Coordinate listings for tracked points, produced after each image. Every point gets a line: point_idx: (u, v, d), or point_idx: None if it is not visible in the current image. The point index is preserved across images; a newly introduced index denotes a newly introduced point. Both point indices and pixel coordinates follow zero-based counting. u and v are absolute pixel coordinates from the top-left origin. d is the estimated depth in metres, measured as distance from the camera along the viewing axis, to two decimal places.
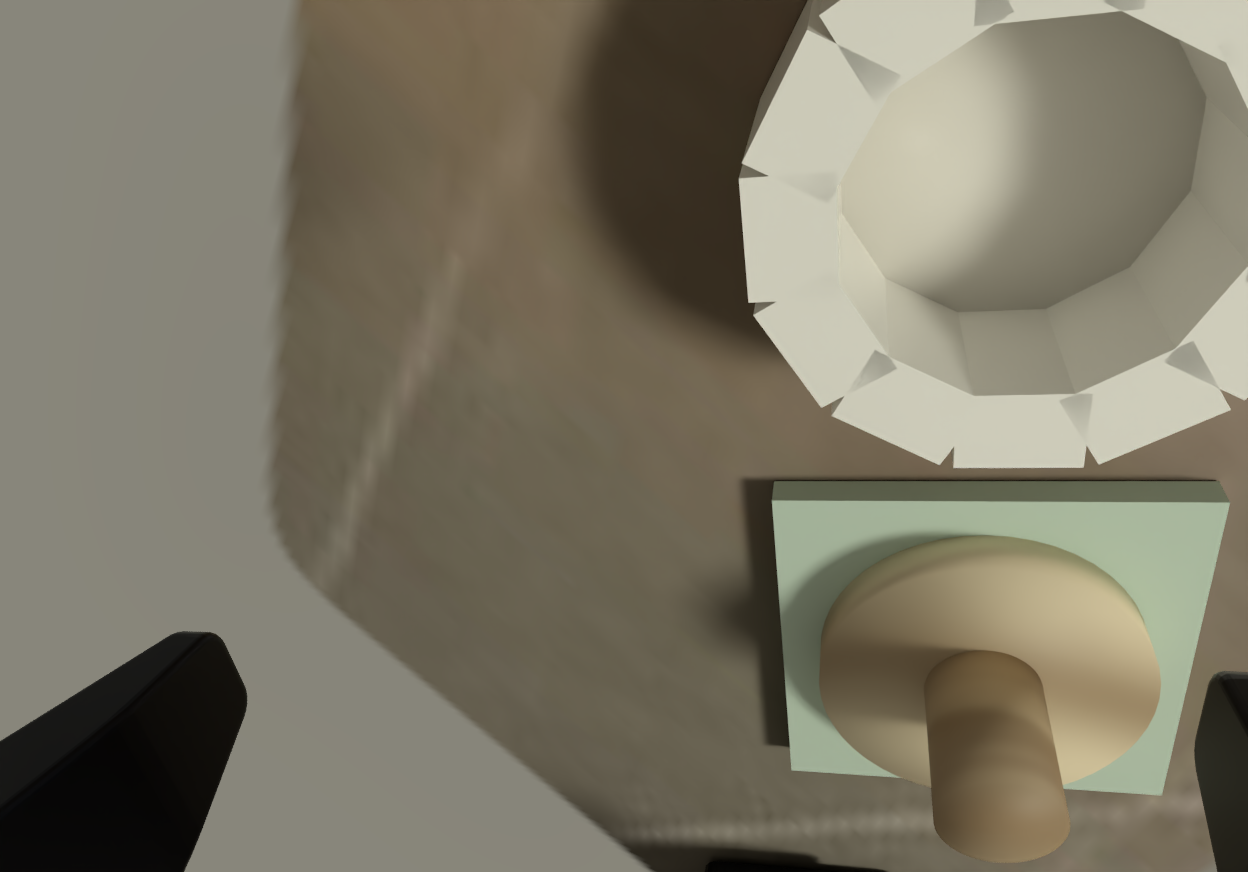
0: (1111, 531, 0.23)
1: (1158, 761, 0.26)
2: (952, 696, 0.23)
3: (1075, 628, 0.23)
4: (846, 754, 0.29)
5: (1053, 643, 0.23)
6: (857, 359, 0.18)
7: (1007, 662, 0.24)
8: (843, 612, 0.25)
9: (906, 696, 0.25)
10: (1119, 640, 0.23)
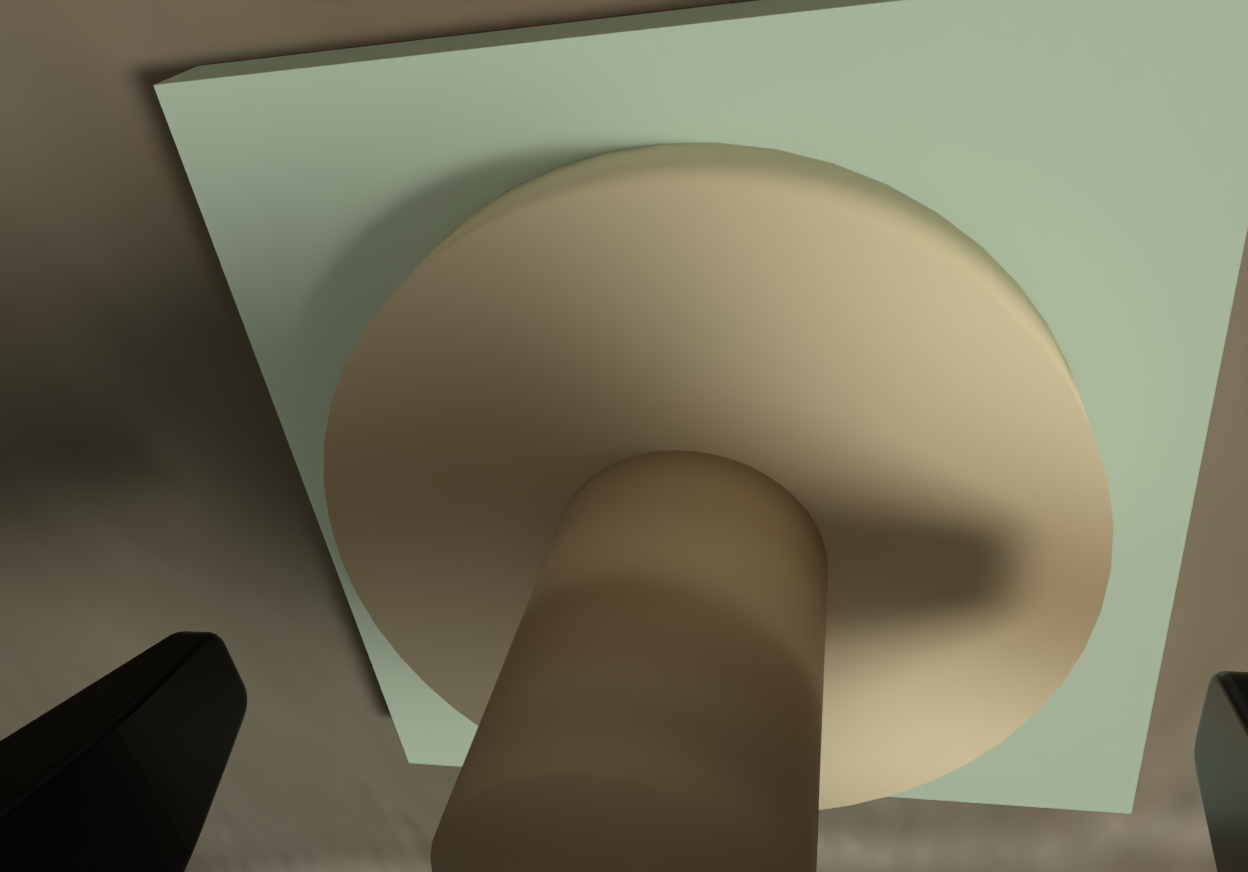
0: (972, 98, 0.08)
1: (1121, 739, 0.12)
2: (564, 556, 0.09)
3: (881, 369, 0.09)
4: None
5: (834, 420, 0.09)
6: None
7: (719, 474, 0.09)
8: (348, 371, 0.10)
9: (528, 583, 0.11)
10: (998, 398, 0.09)
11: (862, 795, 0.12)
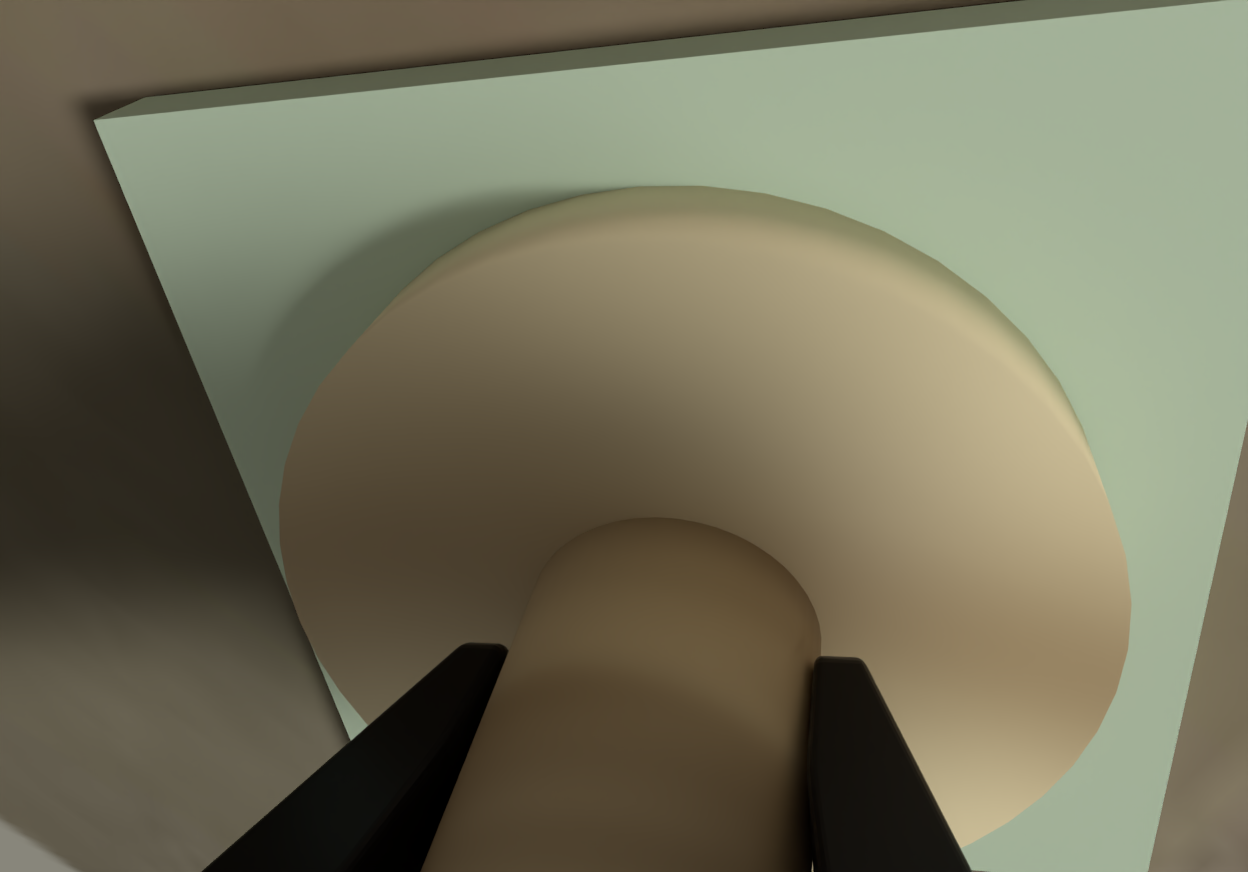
0: (978, 141, 0.08)
1: (1135, 809, 0.11)
2: (533, 637, 0.08)
3: (878, 436, 0.08)
4: None
5: (828, 488, 0.08)
6: None
7: (703, 545, 0.08)
8: (306, 428, 0.09)
9: None
10: (1007, 468, 0.08)
11: None
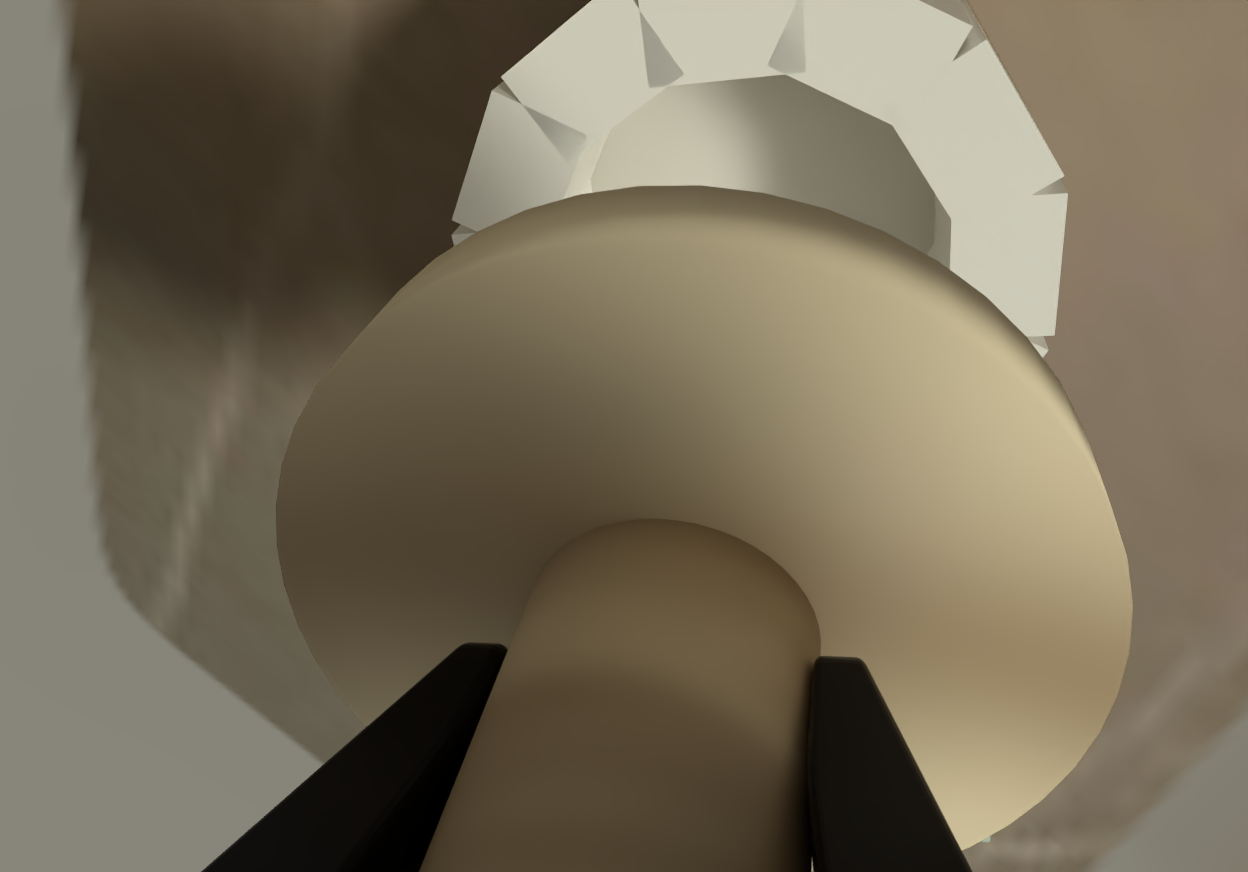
0: None
1: None
2: (531, 639, 0.08)
3: (878, 437, 0.08)
4: None
5: (827, 490, 0.08)
6: None
7: (702, 547, 0.08)
8: (302, 428, 0.09)
9: None
10: (1008, 469, 0.08)
11: None
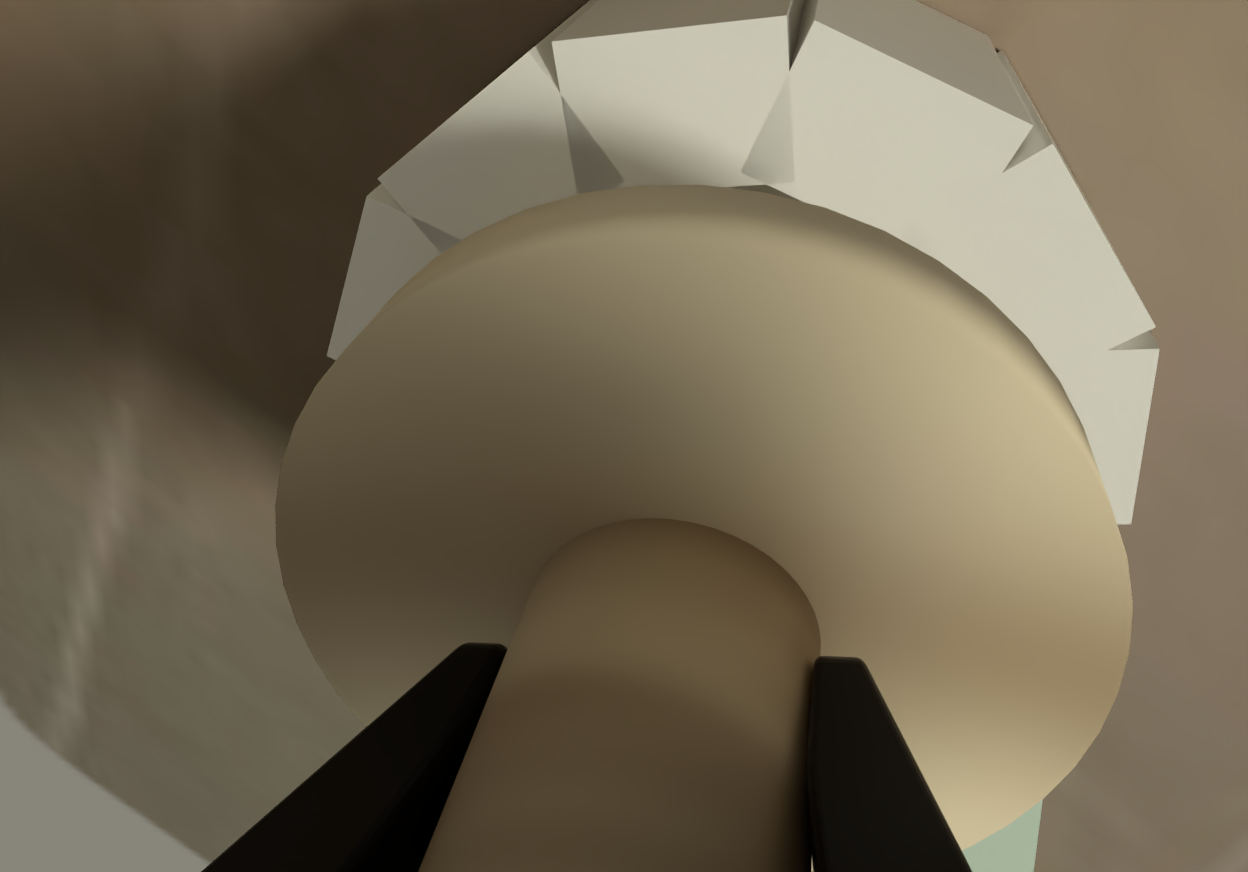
0: None
1: None
2: (531, 639, 0.08)
3: (878, 437, 0.08)
4: None
5: (826, 490, 0.08)
6: None
7: (701, 546, 0.08)
8: (302, 428, 0.09)
9: None
10: (1008, 469, 0.08)
11: None
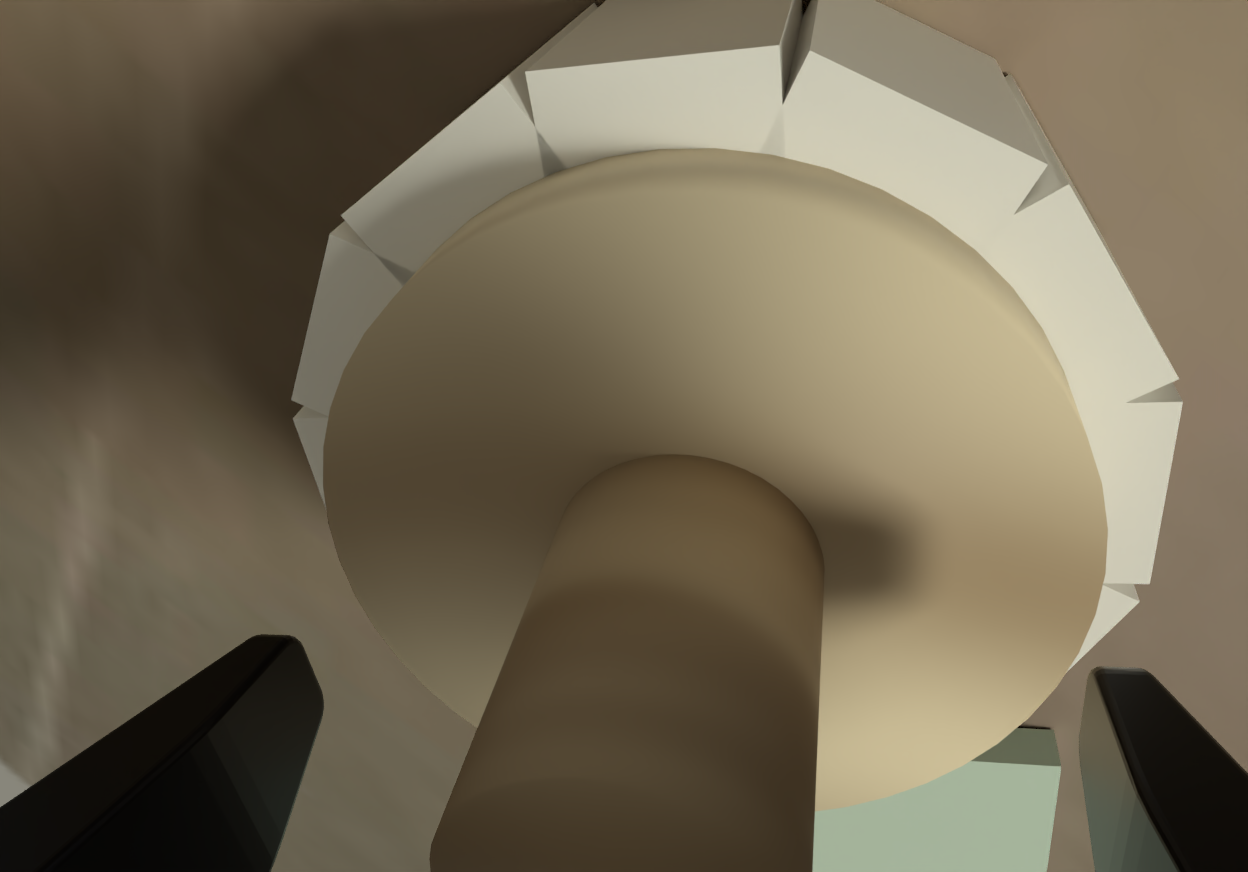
0: (919, 789, 0.18)
1: None
2: (562, 559, 0.09)
3: (877, 374, 0.09)
4: None
5: (829, 425, 0.09)
6: None
7: (716, 478, 0.09)
8: (349, 375, 0.10)
9: (525, 586, 0.11)
10: (993, 402, 0.09)
11: (859, 797, 0.12)
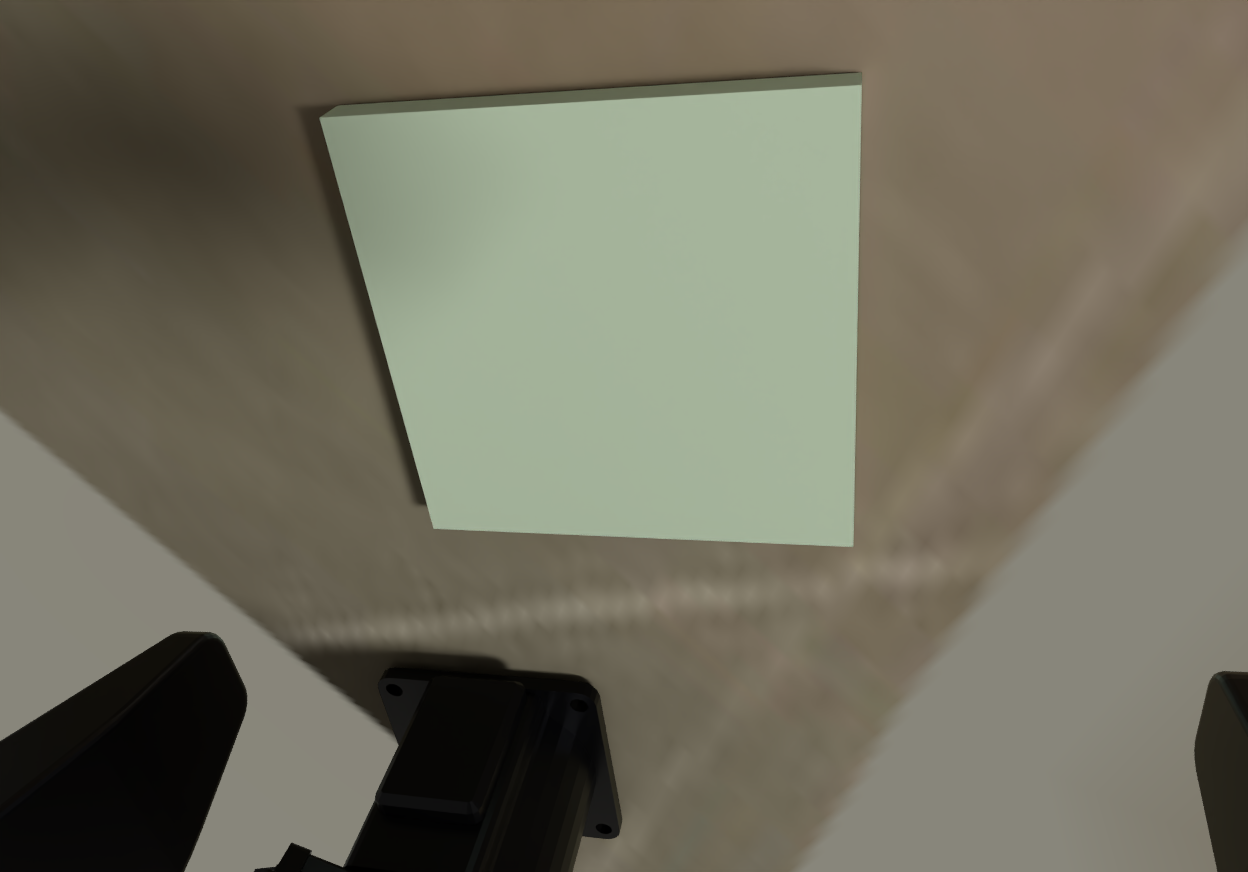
0: (726, 142, 0.18)
1: (841, 497, 0.21)
2: None
3: None
4: (488, 503, 0.23)
5: None
6: None
7: None
8: None
9: None
10: None
11: None
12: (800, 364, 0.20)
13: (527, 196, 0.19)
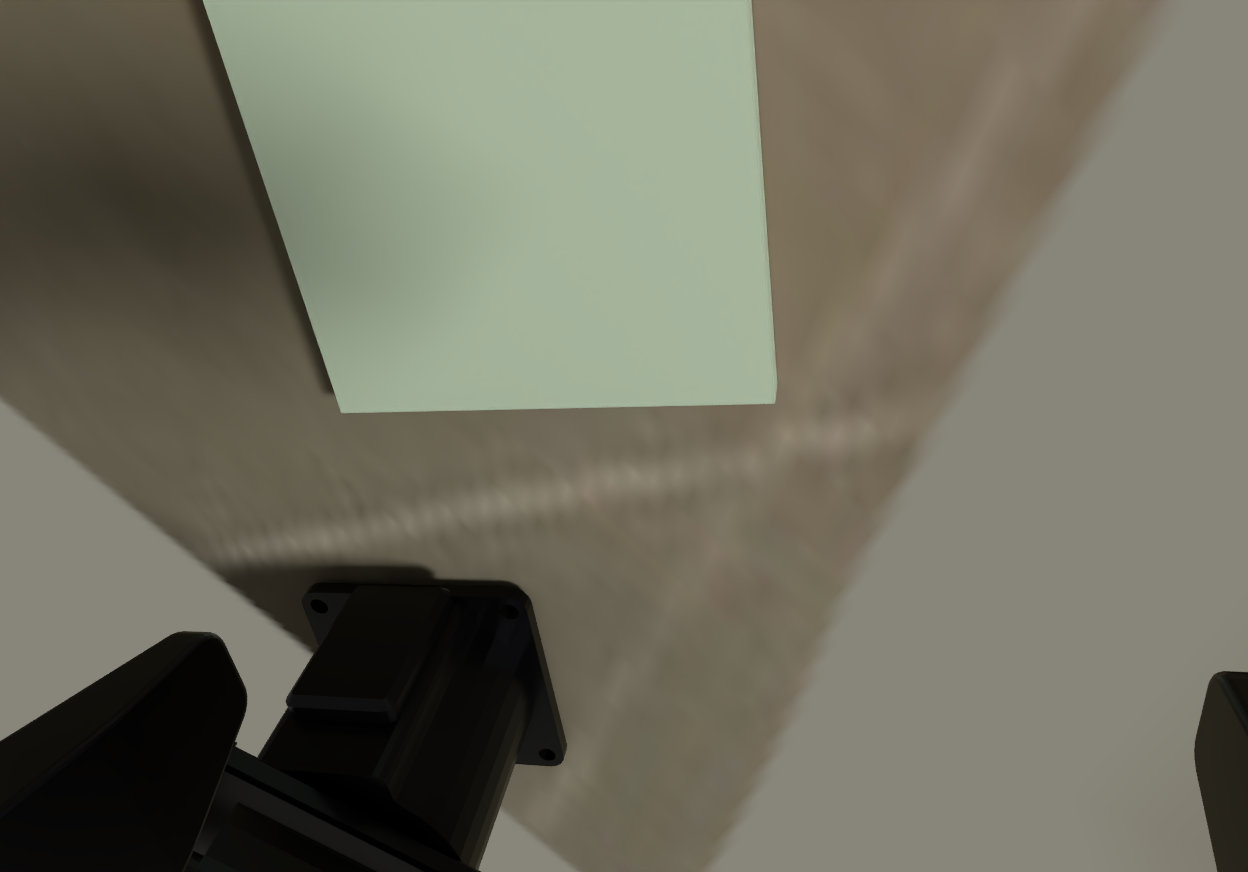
0: None
1: (757, 345, 0.20)
2: None
3: None
4: (394, 379, 0.22)
5: None
6: None
7: None
8: None
9: None
10: None
11: None
12: (701, 191, 0.19)
13: (403, 14, 0.18)
